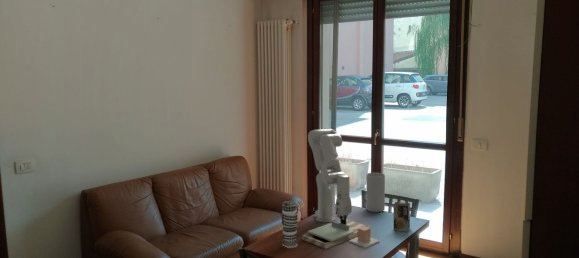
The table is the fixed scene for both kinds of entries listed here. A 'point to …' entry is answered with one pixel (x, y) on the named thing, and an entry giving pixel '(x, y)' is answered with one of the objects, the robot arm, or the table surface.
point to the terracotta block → (364, 234)
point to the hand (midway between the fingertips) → (343, 225)
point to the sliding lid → (332, 231)
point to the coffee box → (401, 216)
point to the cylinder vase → (375, 192)
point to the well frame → (352, 226)
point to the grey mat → (362, 244)
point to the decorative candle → (289, 224)
